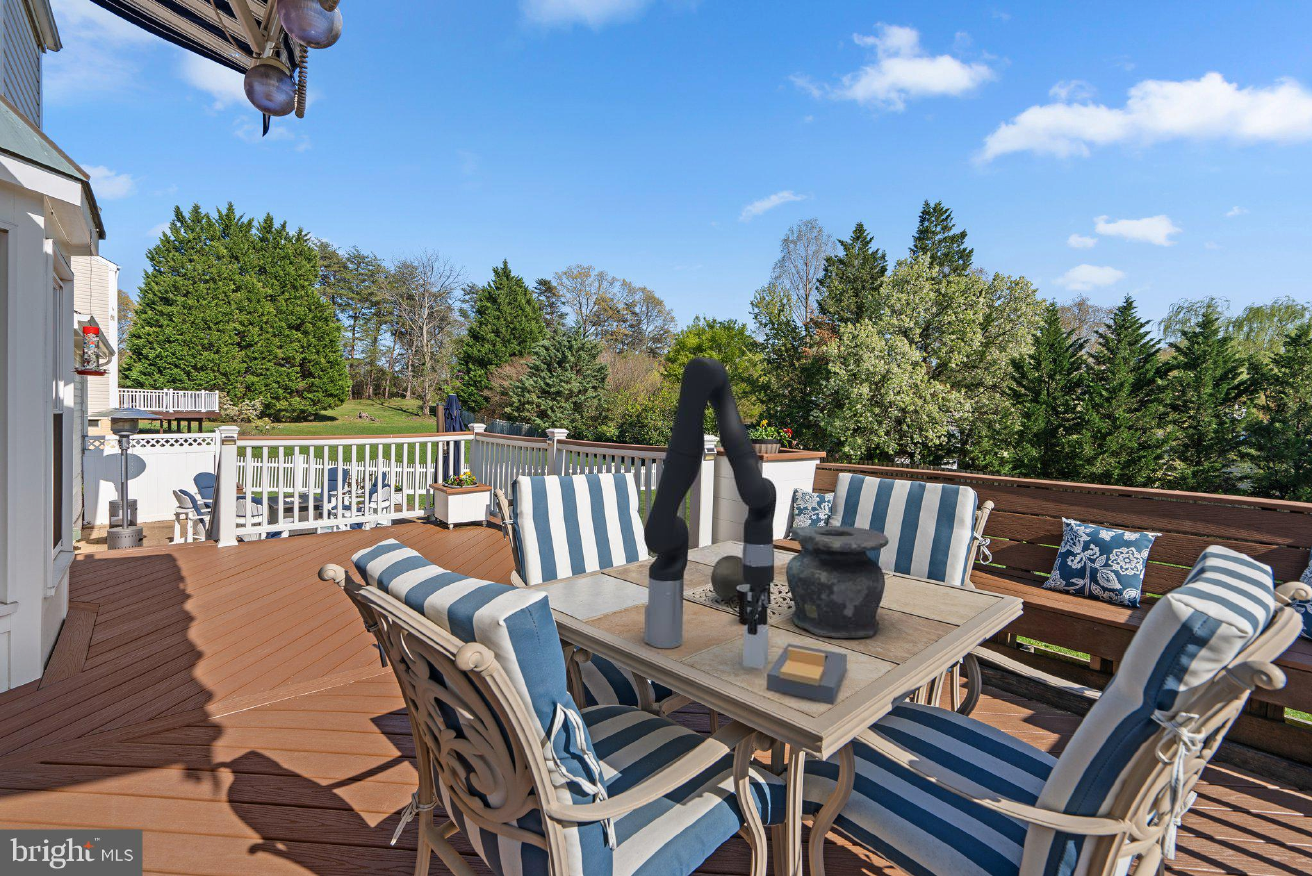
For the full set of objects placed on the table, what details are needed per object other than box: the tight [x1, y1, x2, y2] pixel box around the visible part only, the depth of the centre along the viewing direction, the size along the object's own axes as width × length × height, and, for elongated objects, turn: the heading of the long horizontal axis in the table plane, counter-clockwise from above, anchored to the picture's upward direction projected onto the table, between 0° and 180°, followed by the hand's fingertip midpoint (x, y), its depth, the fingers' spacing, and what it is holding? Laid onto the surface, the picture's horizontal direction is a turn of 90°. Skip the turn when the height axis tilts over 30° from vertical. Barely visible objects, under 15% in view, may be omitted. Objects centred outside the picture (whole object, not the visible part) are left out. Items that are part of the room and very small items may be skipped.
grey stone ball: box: [710, 554, 750, 603], centre depth 189 cm, size 14×14×15 cm
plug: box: [742, 624, 770, 670], centre depth 139 cm, size 5×4×9 cm
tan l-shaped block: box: [780, 647, 825, 686], centre depth 126 cm, size 8×8×4 cm
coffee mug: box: [727, 585, 762, 626], centre depth 169 cm, size 12×9×10 cm
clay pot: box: [785, 525, 890, 639], centre depth 170 cm, size 29×30×30 cm
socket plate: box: [766, 643, 848, 705], centre depth 132 cm, size 14×20×4 cm
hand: (757, 628), depth 139 cm, fingers open, 8 cm apart
